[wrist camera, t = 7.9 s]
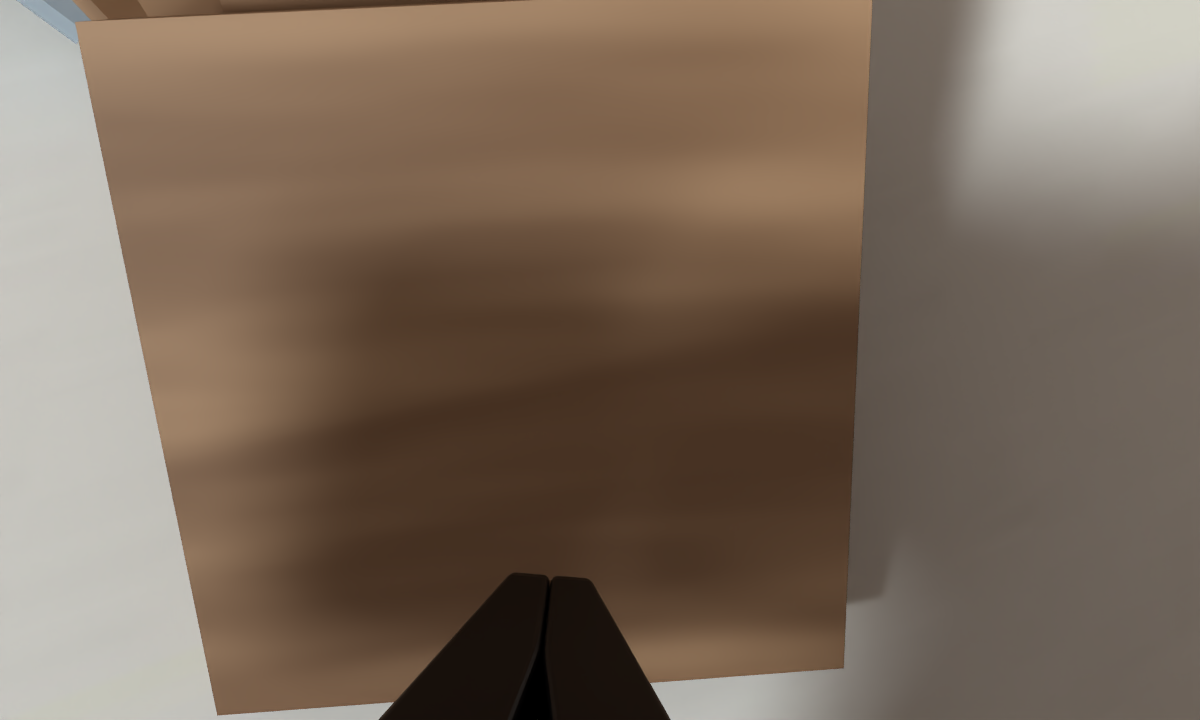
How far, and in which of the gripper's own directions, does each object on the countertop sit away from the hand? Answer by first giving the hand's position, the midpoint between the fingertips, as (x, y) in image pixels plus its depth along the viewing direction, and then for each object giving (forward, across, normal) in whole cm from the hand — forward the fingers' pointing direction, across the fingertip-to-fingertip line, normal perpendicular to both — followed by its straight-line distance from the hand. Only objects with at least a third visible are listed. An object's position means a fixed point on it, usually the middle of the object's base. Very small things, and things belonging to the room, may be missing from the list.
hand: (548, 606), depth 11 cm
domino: (+4, 0, -5) cm, 7 cm away
